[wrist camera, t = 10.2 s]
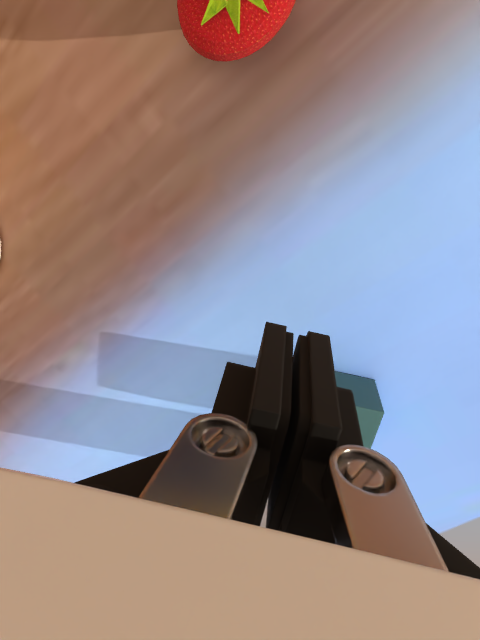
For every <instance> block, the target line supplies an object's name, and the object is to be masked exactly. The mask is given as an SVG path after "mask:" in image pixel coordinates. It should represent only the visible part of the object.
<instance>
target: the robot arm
mask: <svg viewBox="0 0 480 640" xmlns="http://www.w3.org/2000/svg"><path fill="white" fill-rule="evenodd" d="M0 258H1V241H0ZM267 500H268V506H267V518H266V528H264V527H260V524H261V521H262V517H263V514H264V510H265V507H266V503H267ZM0 640H480V568H479V567H478V566H476V565H475V564H474V563H473V562H472V561H471V560H469V559H468V558H467V557H466V556H465V555H463V554H462V553H461V552H460V551H459V550H457V549H456V548H455V547H454V546H453V545H451V544H450V543H449V542H448V541H447V540H445V539H444V538H443V537H442V536H440V535H439V534H438V533H437V532H436V531H435V530H433V529H432V528H431V527H430V526H429V525H427V524H426V523H425V521H424V519H423V517H422V515H421V513H420V511H419V508H418V506H417V504H416V502H415V500H414V498H413V496H412V494H411V492H410V490H409V488H408V486H407V484H406V481H405V479H404V477H403V475H402V474H401V472H400V471H399V469H398V468H397V466H396V465H395V464H393V463H392V462H391V461H390V460H389V459H388V458H387V457H385V456H383V455H382V454H380V453H379V452H377V451H374V450H372V449H370V448H367V447H364V445H363V440H362V435H361V430H360V425H359V420H358V415H357V410H356V405H355V400H354V395H353V392H352V390H350V389H345V388H341V387H337V385H336V378H335V371H334V364H333V357H332V350H331V343H330V337H329V336H328V335H323V334H319V333H314V332H310V331H308V333H307V335H306V336H303V335H299V337H298V340H297V343H296V347H295V351H294V355H293V333H289V332H286V326H283V325H278V324H274V323H269V322H266V325H265V329H264V333H263V337H262V342H261V346H260V350H259V354H258V359H257V363H256V367H255V368H253V367H248V366H244V365H240V364H235V363H231V362H227V364H226V367H225V371H224V374H223V377H222V381H221V384H220V387H219V390H218V394H217V397H216V400H215V403H214V407H213V410H212V413H209V414H204V415H199V416H197V417H195V418H193V419H191V420H190V421H189V422H188V423H187V424H186V426H185V427H184V429H183V430H182V432H181V433H180V435H179V436H178V438H177V439H176V441H175V442H174V444H173V445H172V447H171V449H170V450H167V451H164V452H161V453H158V454H156V455H153V456H150V457H147V458H144V459H141V460H138V461H135V462H133V463H130V464H127V465H124V466H121V467H118V468H115V469H112V470H110V471H107V472H104V473H101V474H98V475H95V476H92V477H89V478H86V479H84V480H81V481H78V482H75V483H72V482H67V481H63V480H59V479H54V478H50V477H45V476H40V475H35V474H30V473H25V472H20V471H15V470H10V469H5V468H0Z"/></svg>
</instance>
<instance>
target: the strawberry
mask: <svg viewBox="0 0 480 640" xmlns="http://www.w3.org/2000/svg"><path fill="white" fill-rule="evenodd" d="M295 1H296V0H177V7H178V15H179V21H180V25H181V28H182V31H183V34H184V36H185V38H186V40H187V41H188V43H189V45H190V46H191V47H192V48H193V49H194V50H195V51H196V52H197V53H199V54H200V55H202V56H204V57H205V58H208V59H212V60H215V61H232V60H238V59H241V58H243V57H246V56H249V55H251V54H252V53H254V52H256V51H257V50H259V49H261V48H262V47H263V46H264V45H265V44H266V43H268V42H269V41H270V40H271V39H272V38H273V37H274V36H275V35H276V33H277V32H278V31H279V30H280V29H281V27H282V26H283V24H284V23H285V21H286V20H287V18H288V17H289V15H290V12H291V10H292V8H293V6H294V4H295Z"/></svg>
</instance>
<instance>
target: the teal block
mask: <svg viewBox="0 0 480 640" xmlns="http://www.w3.org/2000/svg"><path fill="white" fill-rule="evenodd" d="M335 378H336V385H337V387H341V388H345V389H350V390H352V392H353V395H354V400H355V405H356V410H357V415H358V420H359V425H360V430H361V435H362V440H363V445H364V447H367V448H370V449H371V446H372V443H373V441H374V438H375V435H376V433H377V430H378V428H379V425H380V422H381V420H382V417H383V414H384V410H383V407H382V404H381V400H380V397H379V393H378V390H377V387H376V383H375V380H373V379H369V378H364V377H359V376H355V375H350V374H346V373H341V372H336V371H335Z"/></svg>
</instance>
